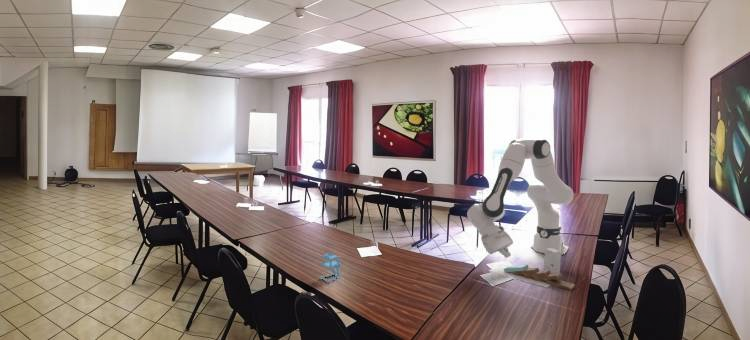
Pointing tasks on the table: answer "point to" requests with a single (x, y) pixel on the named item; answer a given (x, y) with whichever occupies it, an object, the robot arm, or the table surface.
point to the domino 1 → (516, 268)
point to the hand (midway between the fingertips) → (508, 256)
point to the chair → (331, 265)
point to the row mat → (518, 276)
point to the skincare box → (552, 260)
